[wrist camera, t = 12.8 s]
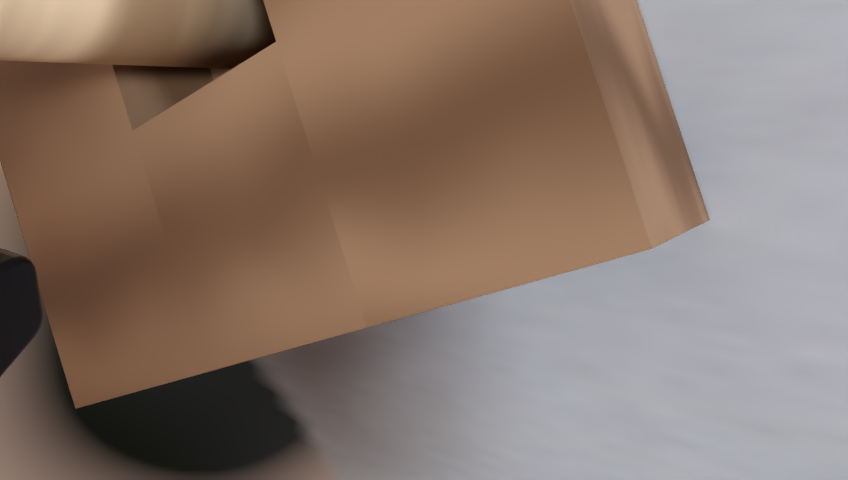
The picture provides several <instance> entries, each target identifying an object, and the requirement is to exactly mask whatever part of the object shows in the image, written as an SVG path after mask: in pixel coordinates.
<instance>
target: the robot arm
mask: <svg viewBox="0 0 848 480" xmlns="http://www.w3.org/2000/svg"><path fill="white" fill-rule="evenodd" d="M42 319H43V310H42V304H41V298H40V291H39V285H38V279H37V273H36V269H35V266H34V264H33V263H32V261H31V260H30V259H28V258H27V257H24V256H21V255H19V254H16V253H13V252H10V251H8V250H5V249H0V377H1V375H2V374H3V373H4V372H5V370H6V369H7V368H8V367H9V366H10V365H11V364H12V362H13V361H14V360H15V359H16V358H17V356H18V355H19V354H20V353H21V352H22V350H23V349H24V348H25V347H26V346H27V345H28V343H29V342H30V341H31V340H32V339H33V337H34V336H35V335H36V334H37V332H38V330H39V328H40V326H41V323H42Z"/></svg>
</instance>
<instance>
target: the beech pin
mask: <svg viewBox="0 0 848 480" xmlns="http://www.w3.org/2000/svg"><path fill="white" fill-rule="evenodd" d="M275 42H276V39H275V36H274V33H273V30H272V27H271V24H270V20H269V17H268V14H267V11H266V8H265V5H264V1H263V0H0V60H1V61H29V62H56V63H83V64H110V65H138V66H165V67H192V68H220V69H233V68H234V67H236V66H238V65H239V64H241V63H243V62H244V61H246V60H247V59H249V58H251V57H252V56H254V55H255V54H257V53H259V52H260V51H262V50H263V49H265V48H267V47H268V46H270V45H272V44H273V43H275Z"/></svg>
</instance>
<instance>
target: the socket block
mask: <svg viewBox="0 0 848 480" xmlns="http://www.w3.org/2000/svg"><path fill="white" fill-rule="evenodd" d="M263 1H264V5H265V8H266V11H267V14H268V17H269V20H270V24H271V27H272V30H273V33H274V36H275V39H276V42H275V43H273V44H272V45H270V46H268V47H267V48H265V49H263V50H262V51H260V52H259V53H257V54H255V55H254V56H252V57H251V58H249V59H247V60H246V61H244V62H243V63H241V64H239V65H238V66H236V67H234V68H233V69H220V68H192V67H165V66H138V65H110V64H83V63H56V62H29V61H1V60H0V162H1V165H2V168H3V171H4V175H5V178H6V181H7V185H8V188H9V191H10V195H11V198H12V201H13V204H14V208H15V211H16V214H17V218H18V221H19V224H20V227H21V231H22V234H23V237H24V241H25V244H26V247H27V251H28V254H29V257H30V260H31V261H32V263H33V264H34V266H35V269H36V273H37V279H38V285H39V290H40V293H41V297H42V300H43V303H44V306H45V310H46V313H47V317H48V320H49V323H50V326H51V330H52V333H53V336H54V340H55V343H56V346H57V349H58V353H59V356H60V359H61V363H62V366H63V369H64V373H65V375H66V379H67V382H68V386H69V389H70V392H71V396H72V399H73V402H74V405H75V408H79V407H83V406H87V405H90V404H94V403H97V402H101V401H105V400H108V399H112V398H115V397H119V396H123V395H126V394H130V393H133V392H137V391H141V390H144V389H148V388H151V387H155V386H159V385H162V384H166V383H169V382H173V381H176V380H180V379H184V378H188V377H191V376H195V375H198V374H202V373H205V372H209V371H213V370H216V369H220V368H223V367H227V366H231V365H234V364H238V363H242V362H245V361H249V360H252V359H256V358H260V357H263V356H267V355H270V354H274V353H278V352H281V351H285V350H288V349H292V348H296V347H299V346H303V345H306V344H310V343H314V342H317V341H321V340H324V339H328V338H332V337H335V336H339V335H342V334H346V333H350V332H353V331H357V330H360V329H364V328H368V327H371V326H375V325H378V324H382V323H386V322H389V321H393V320H396V319H400V318H404V317H407V316H411V315H414V314H418V313H422V312H425V311H429V310H432V309H436V308H440V307H443V306H447V305H450V304H454V303H458V302H461V301H465V300H468V299H472V298H476V297H479V296H483V295H486V294H490V293H494V292H497V291H501V290H504V289H508V288H512V287H515V286H519V285H522V284H526V283H530V282H533V281H537V280H540V279H544V278H548V277H551V276H555V275H558V274H562V273H566V272H569V271H573V270H577V269H580V268H584V267H587V266H591V265H595V264H598V263H602V262H605V261H609V260H613V259H616V258H620V257H623V256H627V255H631V254H634V253H638V252H641V251H645V250H649V249H652V248H654V247H656V246H658V245H660V244H662V243H664V242H666V241H668V240H670V239H672V238H674V237H676V236H678V235H680V234H682V233H684V232H686V231H688V230H690V229H692V228H694V227H696V226H698V225H700V224H702V223H704V222H706V221H708V220H710V219H709V216H708V213H707V210H706V207H705V204H704V201H703V198H702V195H701V192H700V189H699V186H698V183H697V180H696V177H695V174H694V171H693V168H692V165H691V162H690V159H689V156H688V153H687V150H686V147H685V144H684V141H683V138H682V135H681V132H680V129H679V126H678V123H677V120H676V117H675V114H674V111H673V108H672V105H671V102H670V99H669V96H668V93H667V90H666V87H665V84H664V81H663V78H662V75H661V72H660V69H659V66H658V63H657V60H656V57H655V54H654V51H653V48H652V45H651V42H650V39H649V36H648V33H647V30H646V27H645V24H644V21H643V18H642V15H641V12H640V9H639V6H638V3H637V0H263Z"/></svg>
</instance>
